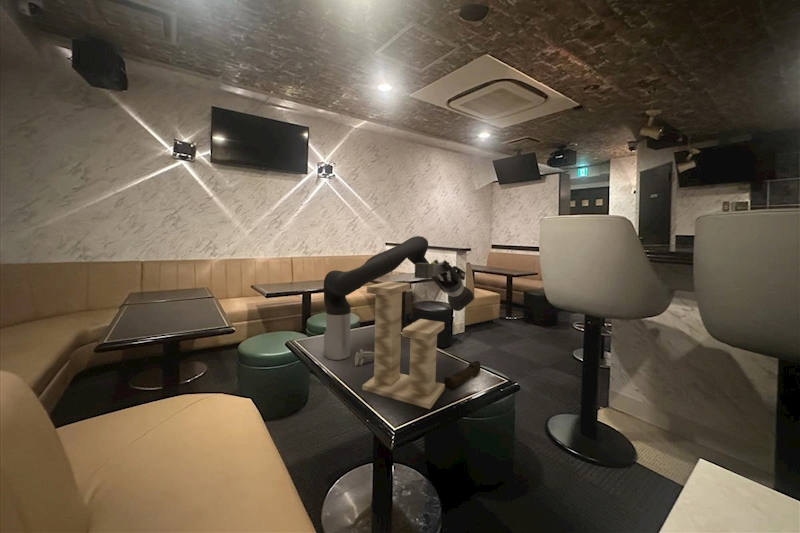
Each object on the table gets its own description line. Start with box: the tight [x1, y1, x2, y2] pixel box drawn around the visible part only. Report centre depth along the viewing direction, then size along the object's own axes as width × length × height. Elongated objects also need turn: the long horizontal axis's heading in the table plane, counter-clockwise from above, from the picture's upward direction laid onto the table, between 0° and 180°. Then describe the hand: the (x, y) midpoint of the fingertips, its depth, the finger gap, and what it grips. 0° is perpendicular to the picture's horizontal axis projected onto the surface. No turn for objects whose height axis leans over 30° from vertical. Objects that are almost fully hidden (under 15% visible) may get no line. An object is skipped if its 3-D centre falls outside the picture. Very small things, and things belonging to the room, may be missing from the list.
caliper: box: [354, 348, 402, 367], centre depth 116 cm, size 20×1×6 cm, turn 127°
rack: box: [361, 280, 446, 410], centre depth 93 cm, size 22×13×32 cm, turn 64°
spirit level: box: [414, 261, 450, 280], centre depth 95 cm, size 4×22×4 cm, turn 154°
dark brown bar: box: [443, 360, 481, 391], centre depth 102 cm, size 19×4×5 cm, turn 133°
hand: (439, 262), depth 99 cm, fingers closed on spirit level, 2 cm apart
